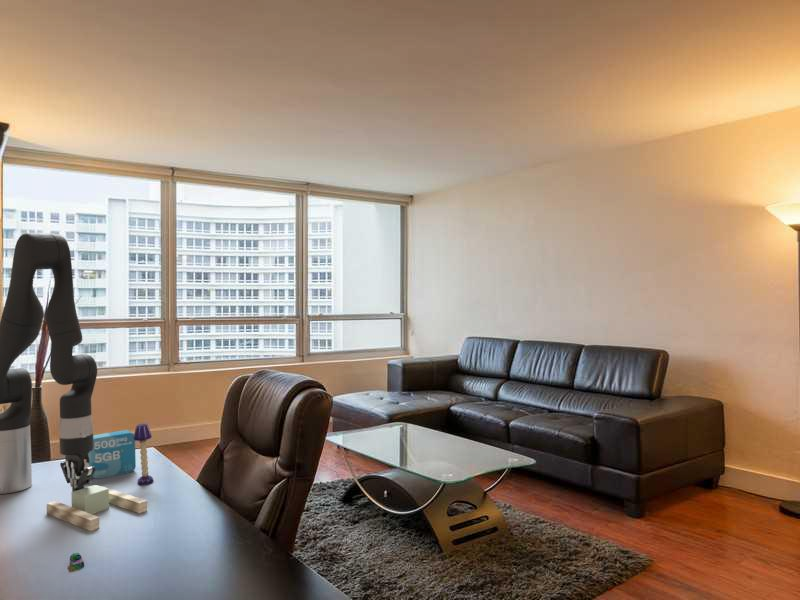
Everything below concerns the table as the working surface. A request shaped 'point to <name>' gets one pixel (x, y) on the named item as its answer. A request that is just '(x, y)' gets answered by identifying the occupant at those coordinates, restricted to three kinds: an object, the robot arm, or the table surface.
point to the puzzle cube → (75, 562)
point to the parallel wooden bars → (91, 520)
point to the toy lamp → (143, 452)
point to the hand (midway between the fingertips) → (78, 500)
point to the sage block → (91, 499)
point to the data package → (113, 454)
